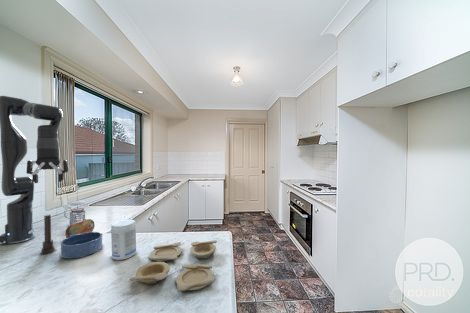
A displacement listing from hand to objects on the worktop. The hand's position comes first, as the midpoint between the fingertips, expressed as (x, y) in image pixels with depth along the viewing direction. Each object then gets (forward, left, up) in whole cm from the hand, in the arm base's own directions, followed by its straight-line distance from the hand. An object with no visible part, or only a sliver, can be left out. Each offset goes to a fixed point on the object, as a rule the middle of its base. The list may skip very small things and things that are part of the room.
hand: (48, 182), depth 94 cm
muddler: (0, -2, -32) cm, 32 cm away
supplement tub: (+31, -23, -32) cm, 50 cm away
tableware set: (+51, -44, -32) cm, 74 cm away
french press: (+4, +36, -32) cm, 49 cm away
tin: (+10, +12, -32) cm, 36 cm away
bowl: (+14, -9, -32) cm, 36 cm away
